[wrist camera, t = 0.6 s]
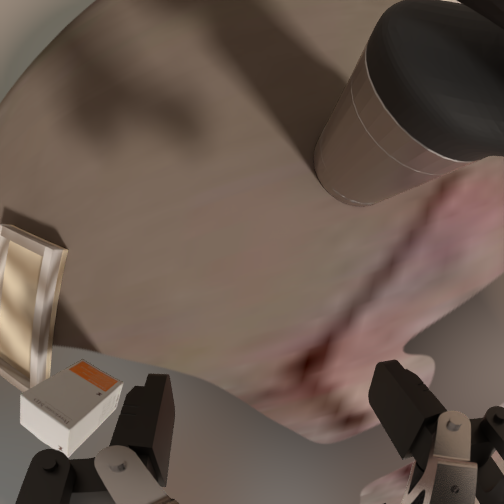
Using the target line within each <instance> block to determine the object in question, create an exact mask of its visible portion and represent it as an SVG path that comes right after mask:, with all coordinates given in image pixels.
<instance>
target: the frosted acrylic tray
mask: <svg viewBox="0 0 504 504" xmlns="http://www.w3.org/2000/svg"><path fill="white" fill-rule="evenodd" d="M67 253H68V250H67V249H65V248H63V247H60V246H58V245H56V244H54V243H51V242H49V241H47V240H44V239H42V238H40V237H38V236H35V235H33V234H31V233H29V232H27V231H24V230H22V229H20V228H18V227H16V226H14V225H9V224H0V375H1V376H2V377H4V378H5V379H6V380H7V381H9V382H10V383H11V384H13V385H14V386H15V387H17V388H18V389H19V390H21V391H22V392H25V391H27V390H28V389H30V388H32V387H34V386H36V385H37V384H39V383H41V382H43V381H44V380H46V379H48V378H50V368H51V354H52V344H53V335H54V326H55V319H56V312H57V305H58V299H59V293H60V287H61V282H62V277H63V272H64V267H65V262H66V257H67Z"/></svg>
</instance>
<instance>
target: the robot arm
mask: <svg viewBox="0 0 504 504" xmlns="http://www.w3.org/2000/svg"><path fill="white" fill-rule="evenodd" d="M457 1H459V2H461V3H462V4H460V3H454V2H448V1H442V0H403V1H400V2H398V3H396V4H394V5H392V6H391V7H390V8H388V9H387V10H386V11H385V12H384V13H383V15H382V16H381V18H380V19H379V21H378V22H377V24H376V26H375V28H374V30H373V32H372V34H371V36H370V38H369V40H368V42H367V44H366V46H365V48H364V50H363V52H362V54H361V56H360V58H359V60H358V62H357V64H356V67H355V69H354V71H353V73H352V75H351V77H350V79H349V81H348V83H347V85H346V87H345V89H344V91H343V93H342V95H341V97H340V99H339V100H338V102H337V104H336V106H335V108H334V110H333V112H332V114H331V116H330V118H329V120H328V122H327V124H326V126H325V128H324V130H323V132H322V134H321V136H320V138H319V139H318V141H317V144H316V147H315V150H314V167H315V171H316V174H317V176H318V179H319V181H320V182H321V184H322V185H323V187H324V188H325V189H326V190H327V191H328V192H329V194H330V195H332V196H333V197H335V198H336V199H337V200H339V201H341V202H343V203H345V204H348V205H352V206H369V205H373V204H376V203H378V202H381V201H383V200H385V199H388V198H391V197H393V196H395V195H398V194H400V193H403V192H405V191H407V190H410V189H412V188H415V187H417V186H419V185H422V184H424V183H427V182H429V181H431V180H434V179H436V178H438V177H441V176H443V175H446V174H448V173H450V172H453V171H455V170H457V169H459V168H462V167H464V166H467V165H469V164H471V163H474V162H476V161H478V160H481V159H483V158H485V157H488V156H504V0H457ZM368 397H369V403H370V405H371V407H372V409H373V410H374V412H375V414H376V415H377V417H378V419H379V420H380V422H381V424H382V426H383V427H384V429H385V431H386V432H387V434H388V436H389V437H390V439H391V441H392V443H393V444H394V446H395V448H396V449H397V451H398V453H399V455H400V456H401V458H402V460H404V459H407V458H410V457H412V456H413V457H414V458H415V461H414V463H413V465H412V469H411V473H410V476H409V480H408V484H407V487H406V490H405V494H404V497H403V500H402V502H401V504H474V503H475V496H476V498H477V499H478V501H479V503H480V504H504V475H503V473H502V472H501V470H500V469H499V467H498V466H497V465H496V463H495V462H494V460H493V459H492V457H491V456H492V454H493V453H494V452H495V450H497V452H498V453H499V454H500V456H501V457H502V459H503V460H504V408H503V407H499V406H495V407H491V408H489V409H488V410H487V412H486V414H485V416H484V417H483V418H478V419H469V418H468V417H467V416H466V415H464V414H463V413H461V412H458V411H447V410H446V409H445V407H444V406H443V405H442V404H441V403H440V401H439V400H438V399H437V398H436V397H435V396H434V394H433V393H432V392H431V391H430V390H429V389H428V387H427V386H426V385H425V384H423V382H422V380H421V379H420V378H419V377H418V376H417V375H416V374H414V373H413V372H411V371H409V370H408V369H404V368H403V367H402V365H401V364H400V363H399V362H398V361H397V360H390V361H384V362H379V363H378V364H377V365H376V368H375V371H374V375H373V379H372V382H371V386H370V389H369V394H368ZM174 420H175V406H174V399H173V393H172V388H171V382H170V376H169V375H168V374H148V377H147V380H146V383H145V386H135V387H134V388H133V389H132V390H131V391H130V392H129V393H128V394H127V395H126V398H125V401H124V404H123V407H122V410H121V415H119V418H118V421H117V424H116V427H115V430H114V433H113V437H112V440H111V443H110V445H109V447H106V448H104V449H102V450H101V451H100V452H99V453H98V454H97V455H96V457H94V458H89V459H73V460H69V459H68V458H67V456H66V455H65V454H64V453H63V452H61V451H59V450H56V449H46V450H42V451H40V452H38V453H37V454H36V455H35V456H34V457H33V459H32V461H31V463H30V466H29V468H28V471H27V473H26V476H25V479H24V481H23V484H22V487H21V489H20V492H19V495H18V498H17V501H16V504H179V503H178V502H177V501H176V500H175V499H171V498H170V497H169V496H168V495H167V494H166V493H165V491H164V490H163V489H162V488H161V486H162V487H166V483H167V475H168V467H169V458H170V450H171V442H172V435H173V428H174ZM384 504H386V503H384Z"/></svg>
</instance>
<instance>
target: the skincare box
mask: <svg viewBox="0 0 504 504" xmlns="http://www.w3.org/2000/svg"><path fill="white" fill-rule="evenodd" d="M122 385H123V382H122V381H120V380H118V379H116V378H114V377H112V376H111V375H109V374H107V373H105V372H103V371H101V370H100V369H98V368H96V367H95V366H93V365H92V364H90V363H88V362H87V361H85V360H84V359H82V360H80V361H78V362H76V363H75V364H73V365H71V366H69V367H68V368H66V369H64V370H63V371H60V372H59V373H57V374H55V375H53V376H52V377H50V378H48V379H46V380H44V381H43V382H41V383H39V384H37V385H36V386H34V387H32V388H30V389H28V390H27V391H25V392H23V393H21V396H20V397H21V398H20V424H21V425H23V426H24V427H25V428H27V429H28V430H29V431H30V432H32V433H33V434H34V435H35V436H36V437H37V438H38V439H39V440H41V441H42V442H44V443H45V444H47V445H49V446H50V447H52V448H53V449H56V450H59V451H61V452H63V453H64V454H65V455H66V456H67V458H68V457H69V456H70V455H71V454H72V453H73V452H74V451H75V450H76V449H77V448H78V447H79V446H80V445H81V444H82V443H83V442H84V441H85V440H86V439H87V438H88V437H89V436H90V435H91V434H92V433H93V432H94V431H95V430H96V429H97V428H98V427H99V426H100V425H101V424H102V422H103V421H104V420H106V419H107V417H108V416H109V415H110V414H111V413H112V412H113V411H114V410H115V409H116V408H117V404H118V400H119V397H120V393H121V389H122Z"/></svg>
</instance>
